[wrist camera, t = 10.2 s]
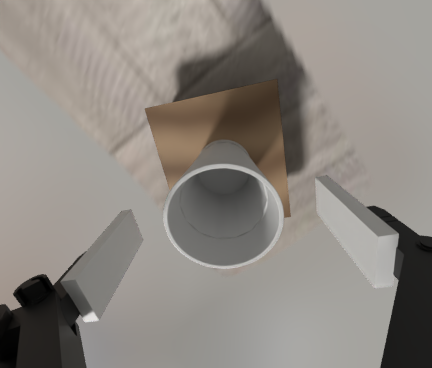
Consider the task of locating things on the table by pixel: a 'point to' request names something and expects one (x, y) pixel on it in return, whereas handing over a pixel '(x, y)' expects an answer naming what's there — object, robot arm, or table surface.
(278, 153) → the low wooden table
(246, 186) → the cup
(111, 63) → the table surface
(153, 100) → the table surface
